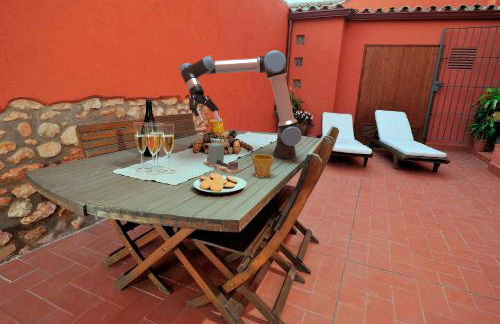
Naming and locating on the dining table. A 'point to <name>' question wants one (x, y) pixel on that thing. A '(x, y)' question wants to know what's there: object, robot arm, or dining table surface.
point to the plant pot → (262, 164)
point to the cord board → (225, 166)
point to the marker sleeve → (215, 153)
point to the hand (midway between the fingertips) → (210, 121)
